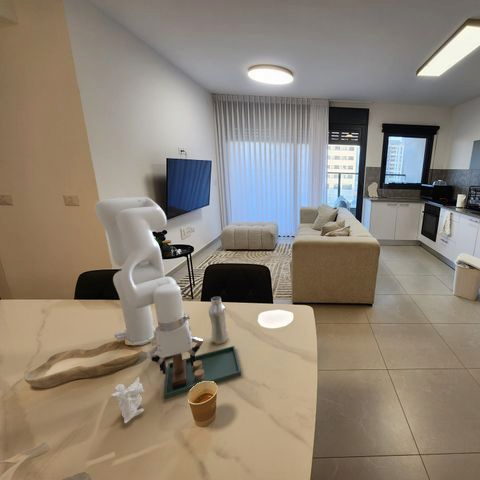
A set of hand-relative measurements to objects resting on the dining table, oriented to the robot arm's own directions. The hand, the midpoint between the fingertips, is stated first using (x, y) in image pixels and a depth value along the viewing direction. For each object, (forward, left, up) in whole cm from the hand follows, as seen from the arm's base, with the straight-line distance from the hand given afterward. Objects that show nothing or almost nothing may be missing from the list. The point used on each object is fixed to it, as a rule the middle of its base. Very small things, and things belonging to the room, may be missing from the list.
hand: (178, 367), depth 89 cm
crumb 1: (+5, +3, -4) cm, 7 cm away
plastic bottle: (+14, +16, -5) cm, 22 cm away
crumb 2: (+6, -2, -4) cm, 8 cm away
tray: (+7, 0, -5) cm, 9 cm away
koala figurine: (-13, -9, -5) cm, 16 cm away
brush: (0, 0, -4) cm, 4 cm away
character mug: (-5, +15, -5) cm, 17 cm away
